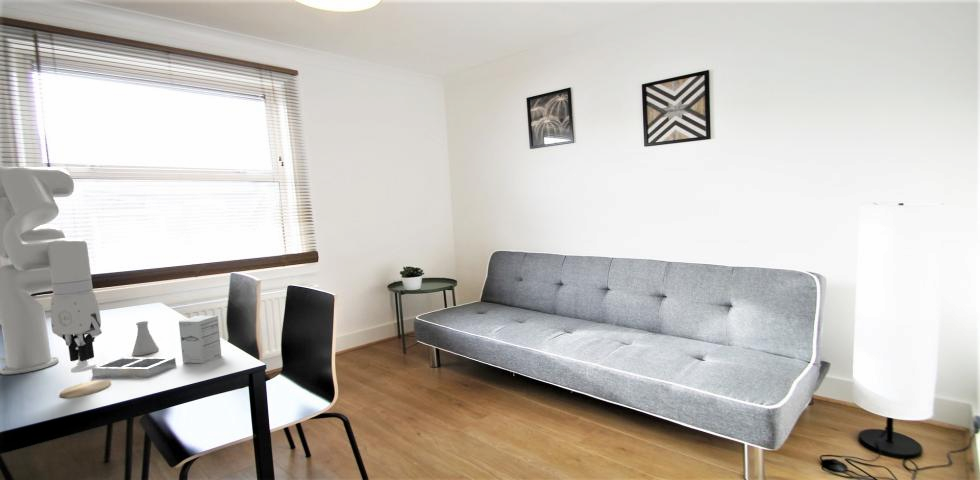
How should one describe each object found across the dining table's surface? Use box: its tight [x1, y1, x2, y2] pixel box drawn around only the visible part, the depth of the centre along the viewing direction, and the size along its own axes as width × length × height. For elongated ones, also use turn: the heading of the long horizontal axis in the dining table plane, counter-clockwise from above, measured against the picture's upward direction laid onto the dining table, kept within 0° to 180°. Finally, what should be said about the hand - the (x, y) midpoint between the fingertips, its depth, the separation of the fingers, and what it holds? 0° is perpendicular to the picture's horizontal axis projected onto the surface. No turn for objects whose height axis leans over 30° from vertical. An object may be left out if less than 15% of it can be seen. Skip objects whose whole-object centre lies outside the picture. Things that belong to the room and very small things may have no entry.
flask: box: [131, 320, 160, 357], centre depth 151 cm, size 7×7×10 cm
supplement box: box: [178, 315, 222, 364], centre depth 141 cm, size 7×7×13 cm
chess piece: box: [70, 334, 97, 374], centre depth 120 cm, size 5×5×10 cm
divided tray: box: [91, 356, 177, 378], centre depth 134 cm, size 18×9×2 cm, turn 80°
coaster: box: [59, 379, 112, 399], centre depth 121 cm, size 10×10×1 cm
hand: (82, 358), depth 121 cm, fingers closed on chess piece
